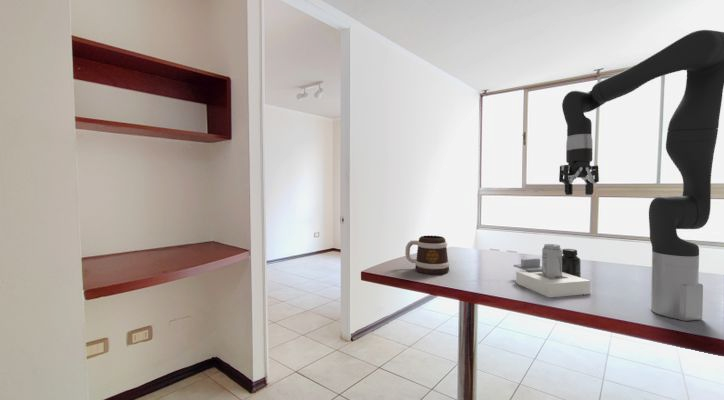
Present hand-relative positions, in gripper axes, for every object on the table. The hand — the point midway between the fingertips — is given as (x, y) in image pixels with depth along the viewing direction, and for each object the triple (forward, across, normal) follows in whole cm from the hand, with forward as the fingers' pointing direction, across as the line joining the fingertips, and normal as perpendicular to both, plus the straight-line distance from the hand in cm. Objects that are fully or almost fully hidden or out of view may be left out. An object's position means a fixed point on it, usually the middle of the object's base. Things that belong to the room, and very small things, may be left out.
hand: (579, 194), depth 108 cm
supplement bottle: (+34, -7, -10) cm, 36 cm away
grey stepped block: (+28, +8, -13) cm, 33 cm away
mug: (+34, +41, -38) cm, 65 cm away
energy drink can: (+33, +8, -4) cm, 34 cm away
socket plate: (+34, +8, -4) cm, 35 cm away
